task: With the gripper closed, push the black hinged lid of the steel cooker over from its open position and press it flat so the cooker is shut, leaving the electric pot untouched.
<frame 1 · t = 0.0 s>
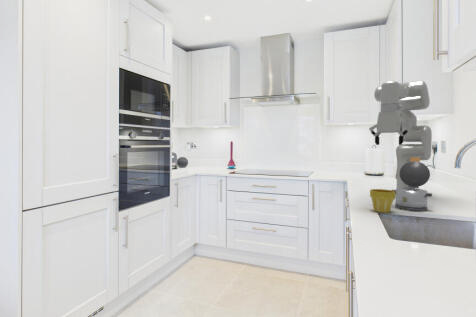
hand: (388, 144, 127), 31 cm above the countertop, tool pointing down, fingers open, 9 cm apart
lid: (414, 172, 137), point 17 cm above the countertop, hinge at 100.0°
cooker: (410, 208, 132), on the countertop
plant pot: (381, 211, 126), on the countertop
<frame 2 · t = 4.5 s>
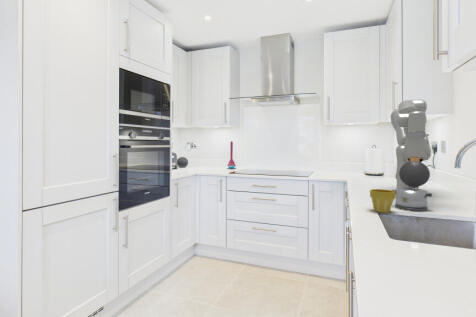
hand: (415, 171, 138), 18 cm above the countertop, tool pointing down, fingers closed
lid: (414, 172, 136), point 17 cm above the countertop, hinge at 93.9°, touching gripper
everything else where it was.
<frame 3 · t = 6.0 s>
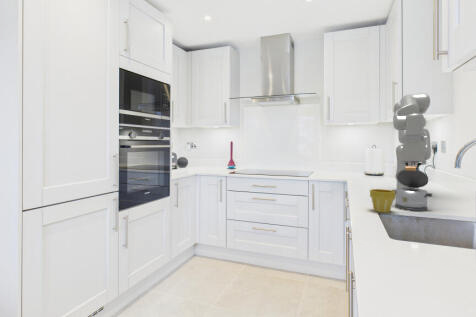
hand: (412, 175, 133), 16 cm above the countertop, tool pointing down, fingers closed
lid: (412, 177, 132), point 15 cm above the countertop, hinge at 45.5°, touching gripper
everything else where it was.
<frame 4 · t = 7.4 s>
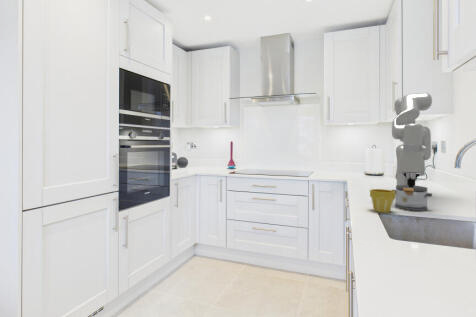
hand: (411, 186, 131), 11 cm above the countertop, tool pointing down, fingers closed
lid: (411, 188, 131), point 10 cm above the countertop, hinge at 1.0°, touching gripper
everything else where it was.
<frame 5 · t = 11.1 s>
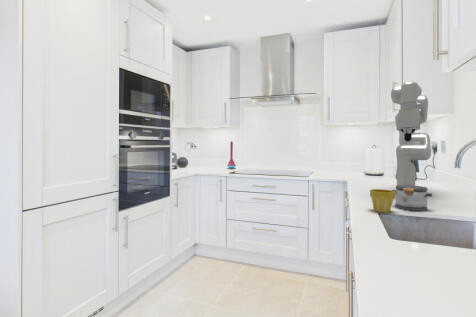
hand: (407, 141, 142), 33 cm above the countertop, tool pointing down, fingers closed
lid: (411, 188, 131), point 10 cm above the countertop, hinge at 0.3°
everything else where it was.
at the end: lid at +0° (first picture: +100°); plant pot moved 0.2 cm from its start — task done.
